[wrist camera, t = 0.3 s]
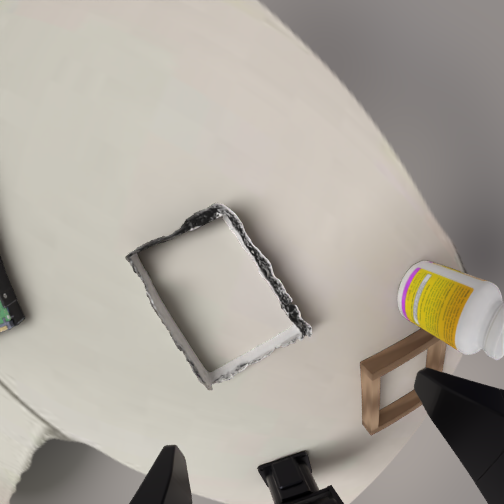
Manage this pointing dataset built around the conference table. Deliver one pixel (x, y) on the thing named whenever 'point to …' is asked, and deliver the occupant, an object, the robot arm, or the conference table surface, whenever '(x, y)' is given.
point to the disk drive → (8, 303)
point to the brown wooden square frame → (386, 363)
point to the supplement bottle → (454, 308)
